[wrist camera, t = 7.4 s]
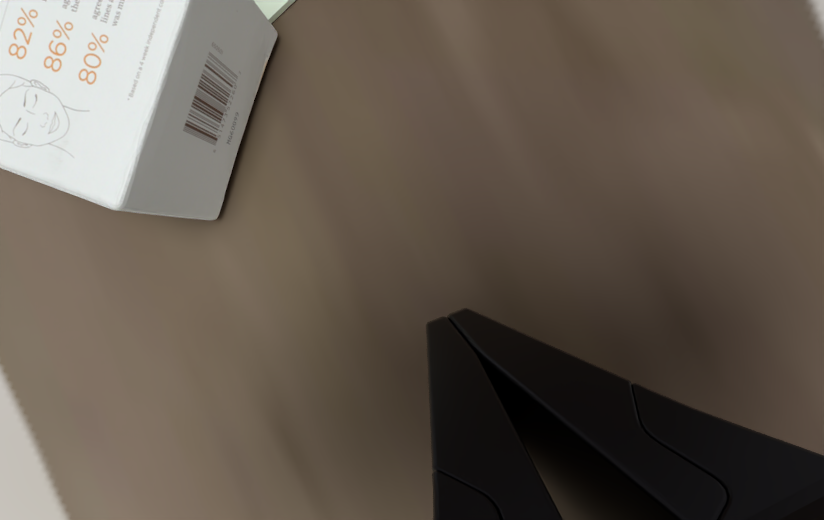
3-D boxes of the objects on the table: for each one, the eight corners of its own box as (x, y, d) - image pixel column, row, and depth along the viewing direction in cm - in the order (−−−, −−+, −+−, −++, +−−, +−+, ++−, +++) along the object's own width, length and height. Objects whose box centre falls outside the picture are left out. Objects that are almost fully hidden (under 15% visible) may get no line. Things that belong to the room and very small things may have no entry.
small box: (284, 32, 17) (42, -55, 18) (210, -70, 11) (-144, -194, 12) (217, 226, 18) (-17, 135, 18) (113, 217, 12) (-224, 87, 12)
